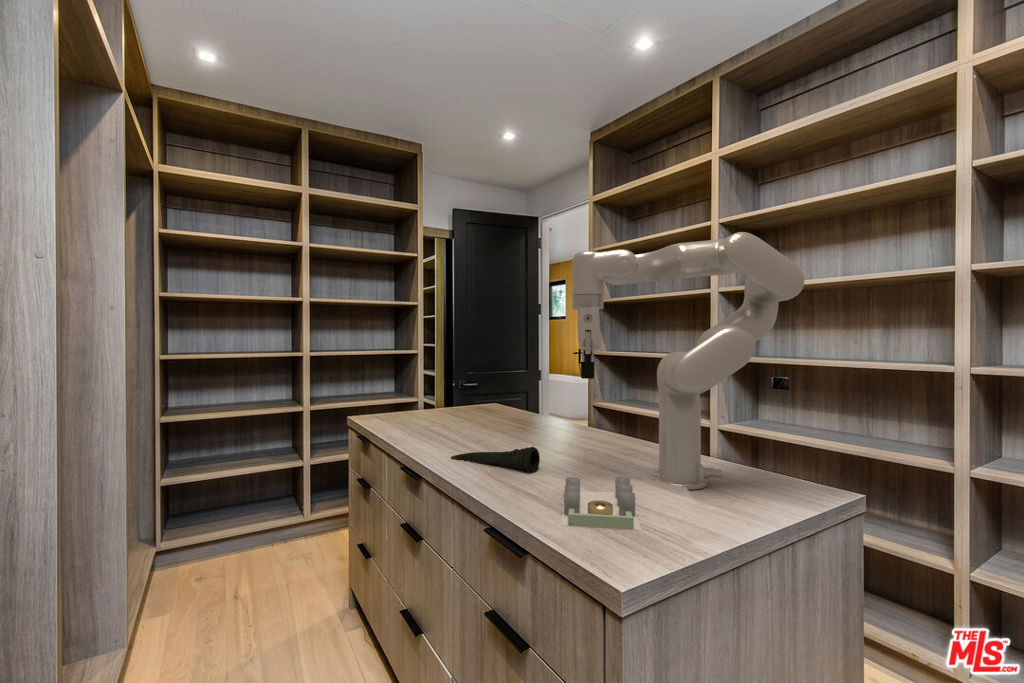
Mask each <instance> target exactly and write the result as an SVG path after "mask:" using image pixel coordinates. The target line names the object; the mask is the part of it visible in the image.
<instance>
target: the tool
mask: <svg viewBox="0 0 1024 683" xmlns="http://www.w3.org/2000/svg"><path fill="white" fill-rule="evenodd" d="M540 456H541V455H540V452H539V450H538V448H536V447H535V446H530V447H525V448H521V449H519V448H515V449H512V450H508V451H476V452H466V453H460V454H455V455H452V456H450V458H451V459H452V460H455V459H456V461H461V460H464V461H463V462H467V461H470V462H469V463H474V462H476V464H482V463H484V465H495V466H502V467H504V466H505V467H510V468H515V469H519V470H523V471H527V473H531V474H532V473H536V472H537V471H538V470H539V466H540V461H541V460H540V459H541V458H540Z"/></svg>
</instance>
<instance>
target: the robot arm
mask: <svg viewBox="0 0 1024 683" xmlns="http://www.w3.org/2000/svg"><path fill="white" fill-rule="evenodd" d="M571 263H572V265H571V266H572V268H571V269H572V270H571V271H572V289H571V290H572V295H571V296H572V299H571V300H572V302H571V304H572V305H571V309H572V310H575V311H576V310H577V311H576V312H577V314H576V315H577V317H576V318H577V321H576V322H577V324H576V325H577V341H578V342H577V343H578V348H579V349H580V350H581V362H580V378H581V380H582V379H585V380H586V379H587V380H588V379H589V380H593V379H595V362H594V347H595V348H596V349H595V350H599V349H600V348H601V345H600V344H601V341H600V339H601V333H600V331H601V330H600V329H601V328H600V327H601V323H600V322H601V320H600V310H604V292H605V291H604V289H605V288H604V285H605V284H604V281H605V282H606V283H607V284H609V285H613V286H623V285H634V284H644V283H652V282H662V281H663V282H664V281H665V282H666V281H675V280H682V279H689V278H691V279H692V278H700V277H712V276H713V277H714V276H723V275H731V274H736V273H739V272H741V273H742V274H743V275H745V276H746V277H747V279H746V281H745V282H744V296H743V302H742V304H741V306H740V307H739V308H737V310H736V311H734V312H733V313H732V314H730V315H729V316H728V317H727V316H726V318H724V319H723V320H722V321H720V322H718V323H717V324H715V325H713V326H712V327H710V328H709V329H706V331H704V332H703V333H702V334H701V335H700V336H699V337H698V339H697V341H696V346H693V347H692V348H691V349H689V350H688V351H679V350H678V351H672V352H670V353H668V354H665V355H664V357H662V359H661V360H660V362H659V364H658V366H657V369H656V382H657V392H658V405H659V406H658V412H659V414H658V419H659V420H658V471H657V472H654V473H653V474H652V478H651V479H652V481H658V482H661V483H664V484H668V485H669V484H670V485H675V486H685V488H686V490H688V491H690V490H691V491H692V490H700V489H704V488H706V487H707V486H708V478H715V479H716V478H720V479H721V478H723V471H722V468H721V469H718V468H714V467H705V466H704V465H703V464H702V463H701V459H702V458H701V457H702V456H701V454H702V453H701V450H702V449H701V441H702V440H701V437H702V435H701V434H702V433H701V432H702V431H701V429H702V427H701V426H702V425H701V423H702V422H701V420H702V410H701V409H702V408H701V406H702V405H701V396H700V395H701V394H703V393H705V392H707V391H709V390H710V389H712V388H714V387H716V385H719V383H721V382H722V381H725V380H727V378H728V377H730V376H731V375H733V374H734V373H736V372H737V371H739V370H740V369H742V368H743V367H745V366H746V365H747V364H748V363H749V361H750V360H752V358H753V355H754V352H755V348H756V344H755V343H756V342H758V341H759V340H760V339H762V338H763V337H765V335H767V334H768V333H769V332H770V331H771V329H773V327H774V325H775V324H776V321H777V317H778V312H779V302H785V301H789V300H791V299H794V298H795V297H796V296H798V295H799V294H801V291H803V289H804V286H805V276H804V273H803V271H802V270H801V268H800V267H799V266H798V265H797V264H796V263H795V262H794V261H792V260H791V259H789V258H788V257H787V256H785V255H784V254H782V253H781V252H779V250H777V249H776V248H774V247H773V246H772V245H770V244H769V243H767V242H766V241H764V240H763V239H761V238H760V237H759V236H757V235H754V234H752V233H750V232H745V231H740V232H735V233H732V234H730V235H728V237H725V238H720V239H719V238H718V239H710V240H701V241H700V240H699V241H689V242H679V243H674V244H670V245H668V246H664V247H663V248H659V249H657V250H654V251H653V250H652V251H649V252H644V253H639V254H634V252H632V251H630V250H628V249H625V248H623V249H621V248H619V249H613V250H605V251H595V250H594V251H593V250H591V251H590V250H588V251H587V250H586V251H579V252H575V254H574V255H573V257H572V262H571Z"/></svg>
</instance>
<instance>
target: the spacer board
mask: <svg viewBox="0 0 1024 683" xmlns="http://www.w3.org/2000/svg"><path fill="white" fill-rule="evenodd" d="M614 480H615V484H614V485H615V488H614V490H615V492H607V491H606V492H605V491H589V490H587V491H586V490H581V479H580V478H579V477H576V476H569V477H566V478H565V485H564V491H563V506H562V514H561V515H562V516H561V522H560V525H561V526H565V527H581V528H599V529H612V530H613V529H616V530H632V531H635V530H636V531H642V527H641V524H640V522H639V518H638V516H637V512H636V493H635V492H633V485H632V484H631V478H629V477H627V476H616V477H615V478H614ZM591 501H606V502H609V503H611V504H612V505H613V515H600V514H588V503H589V502H591Z"/></svg>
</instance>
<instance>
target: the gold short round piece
mask: <svg viewBox="0 0 1024 683" xmlns="http://www.w3.org/2000/svg"><path fill="white" fill-rule="evenodd" d="M588 514H600V515H613V505H612V504H611V503H609V502H606V501H591V502H589V503H588Z"/></svg>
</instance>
